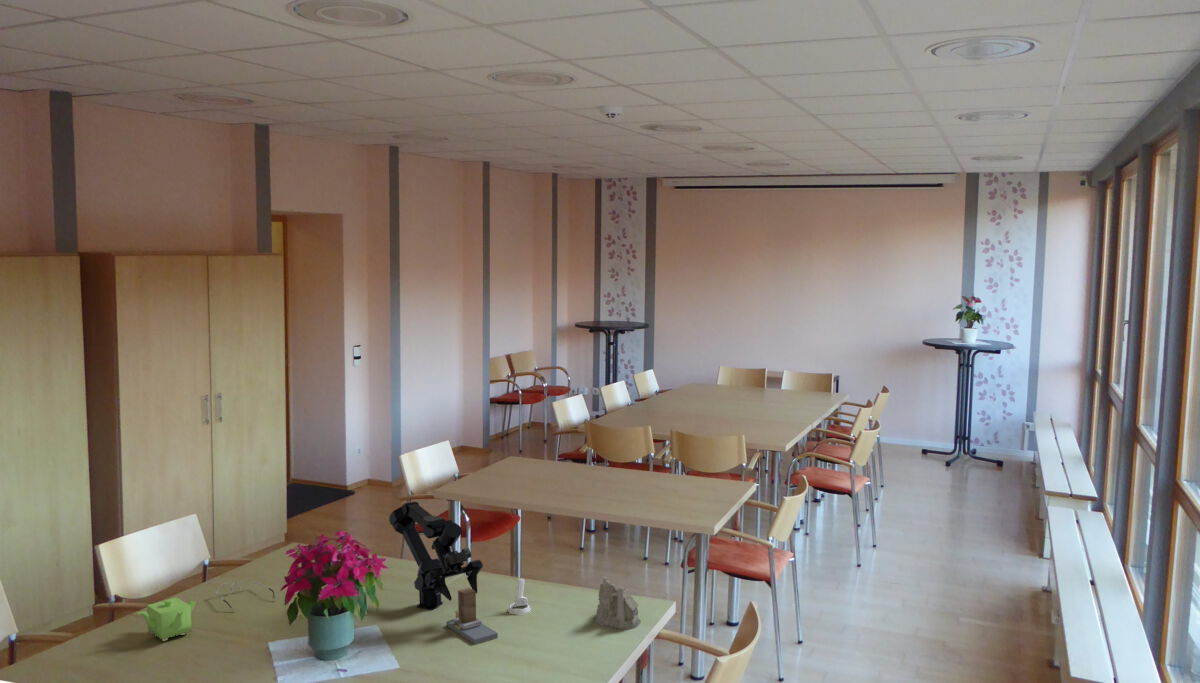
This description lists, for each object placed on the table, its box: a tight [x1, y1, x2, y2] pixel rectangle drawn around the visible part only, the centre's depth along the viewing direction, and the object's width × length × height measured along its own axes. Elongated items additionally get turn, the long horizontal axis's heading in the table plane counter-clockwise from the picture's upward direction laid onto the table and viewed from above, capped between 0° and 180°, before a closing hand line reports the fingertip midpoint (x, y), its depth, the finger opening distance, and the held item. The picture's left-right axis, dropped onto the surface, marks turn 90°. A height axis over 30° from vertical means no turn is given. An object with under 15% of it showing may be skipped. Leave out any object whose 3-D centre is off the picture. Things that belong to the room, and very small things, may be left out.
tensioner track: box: [445, 609, 499, 645], centre depth 287 cm, size 18×8×4 cm, turn 38°
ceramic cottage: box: [595, 576, 641, 630], centre depth 297 cm, size 16×16×15 cm
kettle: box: [136, 597, 197, 640], centre depth 286 cm, size 15×14×11 cm
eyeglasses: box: [214, 577, 275, 609], centre depth 316 cm, size 16×19×5 cm
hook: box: [507, 578, 532, 615], centre depth 306 cm, size 8×12×7 cm
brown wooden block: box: [453, 587, 482, 629], centre depth 289 cm, size 7×6×11 cm
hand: (463, 596), depth 290 cm, fingers open, 9 cm apart
